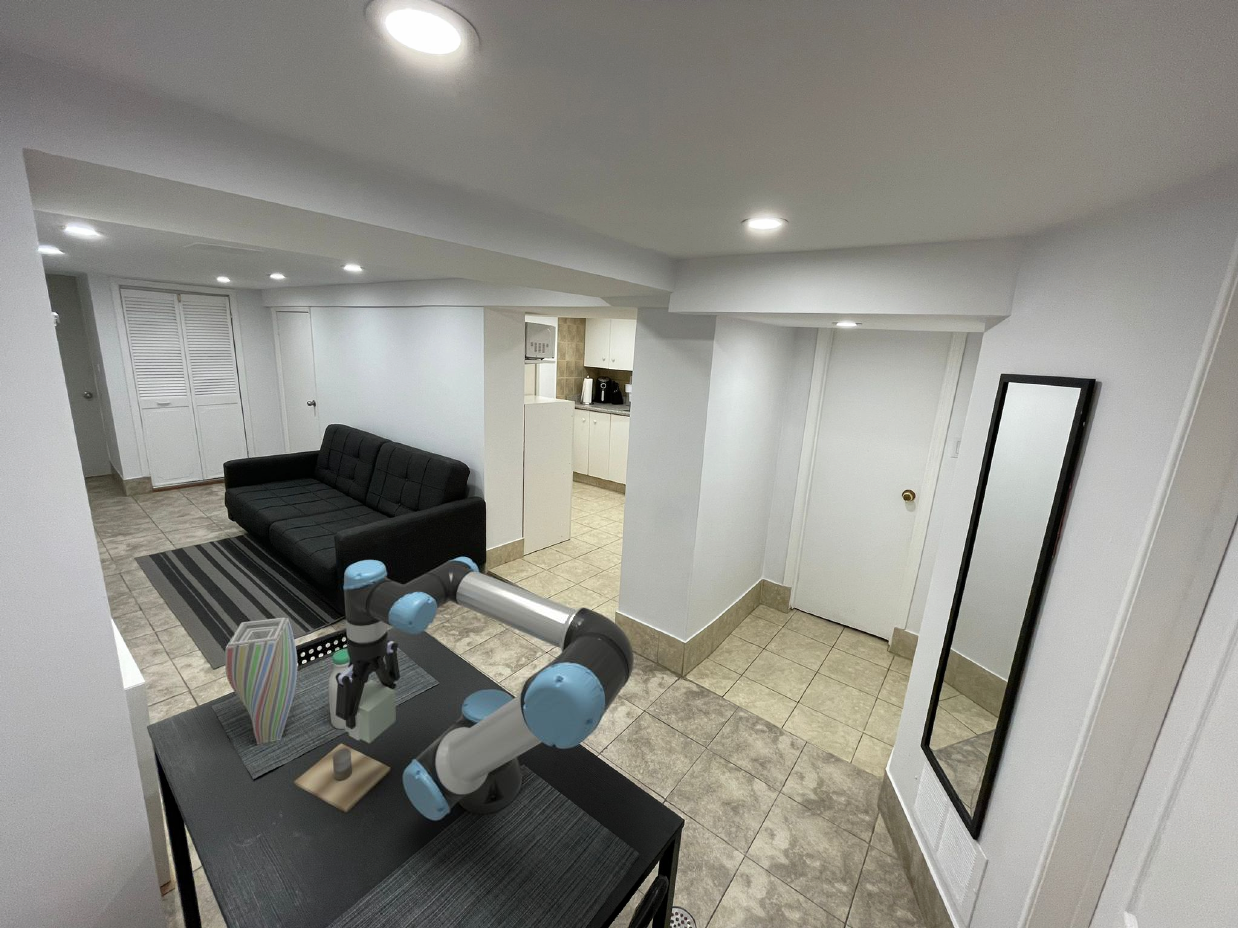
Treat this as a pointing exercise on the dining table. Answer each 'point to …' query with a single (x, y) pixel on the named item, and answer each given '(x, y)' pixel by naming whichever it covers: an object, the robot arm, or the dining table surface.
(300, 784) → the post base
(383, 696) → the pale green block
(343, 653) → the milk bottle
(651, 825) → the dining table surface
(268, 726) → the vase
